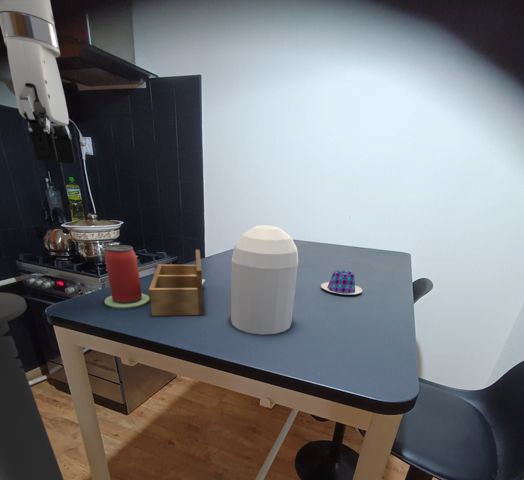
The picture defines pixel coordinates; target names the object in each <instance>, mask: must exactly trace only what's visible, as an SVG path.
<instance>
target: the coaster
mask: <svg viewBox="0 0 524 480" xmlns="http://www.w3.org/2000/svg"><path fill="white" fill-rule="evenodd" d="M141 294H142V297H141V299H139V300H138V301H136V302H132V303H119V302H116V301H114V300H113V299H112V295H110V296H107V297H106V298H105V299H104V305H105V306H106V307H109V308H111V309H117V310H127V309H129V310H130V309H136V308H140V307H143V306H146V305H147V304H149V303H150V295H148V294H144V293H142V292H141Z"/></svg>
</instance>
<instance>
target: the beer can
mask: <svg viewBox="0 0 524 480" xmlns="http://www.w3.org/2000/svg"><path fill="white" fill-rule="evenodd" d="M104 261H105V262H104V263H105V267H106V272H107V278H108V284H109V289H110V294H111V295H110V296H112V299H113V300H114V301H116V302H119V303H132V302H136V301H138V300H139V299H141V297H142V294H143V293H142V288H141V280H140V279H141V278H140V273H139V264H138V258H137V254H136V252H135V250H134V247H133V246H131V245H126V244H115V245H114V244H113V245H108V246H106V247H105V253H104ZM141 293H142V294H141Z"/></svg>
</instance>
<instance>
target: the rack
mask: <svg viewBox="0 0 524 480" xmlns="http://www.w3.org/2000/svg"><path fill="white" fill-rule="evenodd" d="M200 251H201V250H200V249H195V264H166V263H165V264H164V263H163V264H157V265H156V268H155V272H154V275H153V277H152V280H151V283H150V286H149V289H148V294H149V295H148V296H149V298H150V301H149V303H150V312H151V316H152V317H164V316H165V317H166V316H169V317H170V316H204V302H203V301H204V299H203V284H202V279H203V277H202V276H203V273H202V262H201V252H200Z"/></svg>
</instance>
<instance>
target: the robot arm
mask: <svg viewBox="0 0 524 480" xmlns="http://www.w3.org/2000/svg"><path fill="white" fill-rule="evenodd" d="M0 29H1V34H2V37H3V41H4V45H5V46H6V50H7V59H8V64H9V70H10V71H9V72H10V75H11V79H12V86H13V90H14V95H15V99H16V100H15V101H16V104H17V108H18V112H19V114H20V115H21V117H23V119H25V120H26V121H27V128H28V131H29V134H30V138H31V142H32V146H33V150H34V155H35V158H36V160H37V161H42V162H55V163H56V162H58V163H66V164H67V163H69V164H75V163H76V156H75V151H74V147H73V141H72V134H71V132H70V126H69V124H70V117H69V112H68V106H67V102H66V95H65V91H64V88H63V83H62V79H61V75H60V71H59V67H58V66H59V65H58V62H57V59H56V58H59V57H61V50H60V46H59V40H58V35H57V30H56V25H55V18H54V14H53V9H52V4H51V0H0ZM50 132H51V133H50Z"/></svg>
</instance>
